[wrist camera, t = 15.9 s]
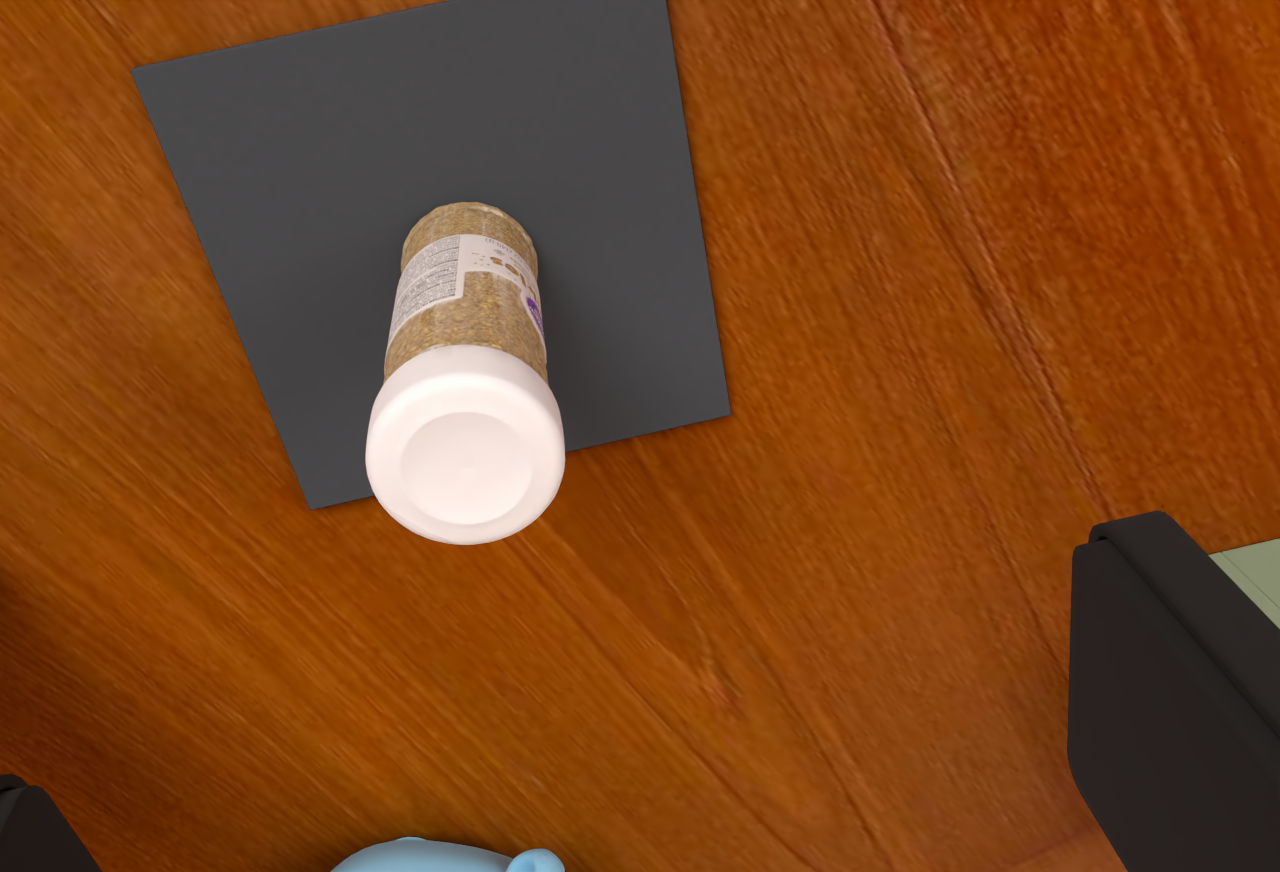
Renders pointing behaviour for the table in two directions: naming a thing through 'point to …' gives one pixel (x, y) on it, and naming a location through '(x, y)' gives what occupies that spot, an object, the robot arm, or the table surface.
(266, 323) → the mat
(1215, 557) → the crate
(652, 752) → the table surface
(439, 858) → the decorative pot
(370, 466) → the sprinkles bottle
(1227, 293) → the table surface
